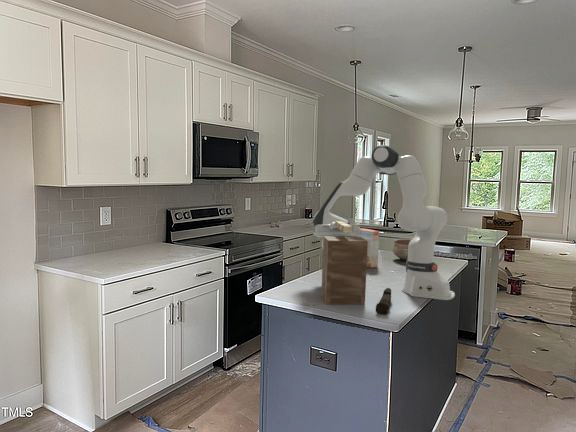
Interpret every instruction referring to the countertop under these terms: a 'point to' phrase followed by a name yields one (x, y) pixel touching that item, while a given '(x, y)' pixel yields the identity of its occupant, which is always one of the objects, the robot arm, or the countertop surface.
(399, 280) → the countertop surface
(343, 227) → the oak slat
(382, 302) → the hand tool
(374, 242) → the cracker box
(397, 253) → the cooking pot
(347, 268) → the wooden shelf
